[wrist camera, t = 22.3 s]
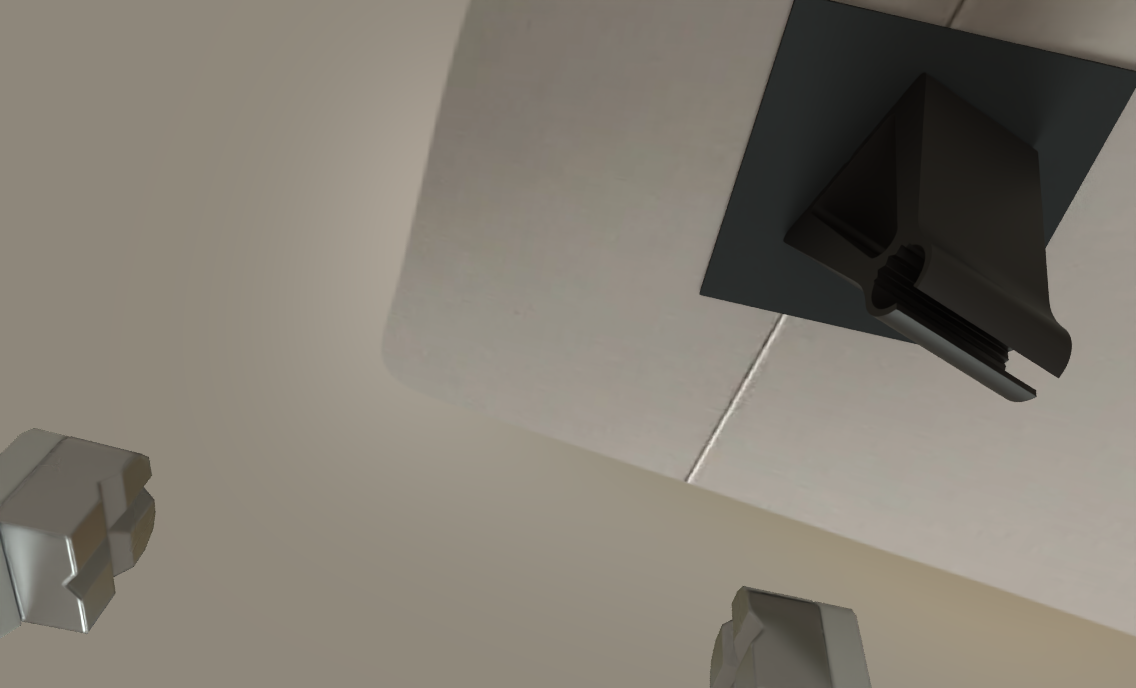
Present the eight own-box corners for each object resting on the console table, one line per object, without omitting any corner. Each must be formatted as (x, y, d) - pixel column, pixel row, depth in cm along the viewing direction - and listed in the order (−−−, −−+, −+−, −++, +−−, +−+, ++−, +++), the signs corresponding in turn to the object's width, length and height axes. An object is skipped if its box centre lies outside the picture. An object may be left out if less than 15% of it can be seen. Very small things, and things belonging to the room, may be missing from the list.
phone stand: (884, 302, 41) (946, 472, 31) (781, 236, 40) (812, 391, 30) (1035, 148, 36) (1166, 290, 26) (924, 69, 35) (1017, 186, 25)
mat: (699, 292, 42) (699, 294, 42) (796, -8, 34) (797, -7, 34) (981, 357, 42) (983, 359, 42) (1141, 72, 35) (1143, 74, 34)
